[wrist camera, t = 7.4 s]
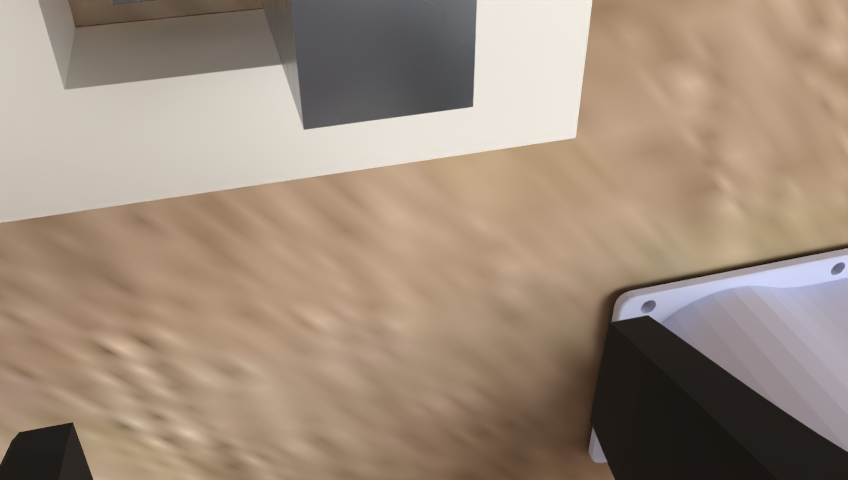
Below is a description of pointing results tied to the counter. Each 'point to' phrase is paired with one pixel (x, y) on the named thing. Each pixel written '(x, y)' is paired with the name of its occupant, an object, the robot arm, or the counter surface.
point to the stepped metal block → (373, 56)
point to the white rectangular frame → (242, 105)
